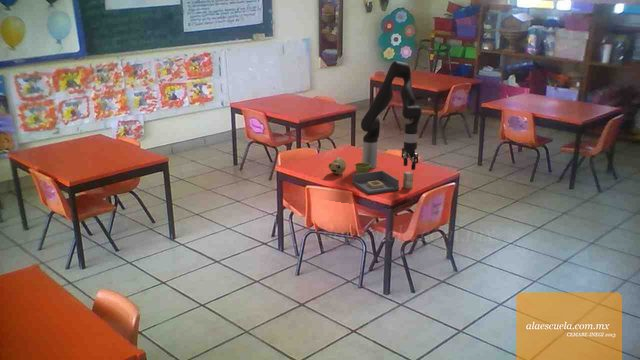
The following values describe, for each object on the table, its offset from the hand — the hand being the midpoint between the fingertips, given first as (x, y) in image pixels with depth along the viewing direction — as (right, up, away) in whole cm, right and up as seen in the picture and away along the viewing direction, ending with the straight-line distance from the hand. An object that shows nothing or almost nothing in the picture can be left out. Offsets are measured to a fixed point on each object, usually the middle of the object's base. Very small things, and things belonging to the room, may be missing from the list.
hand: (409, 167), depth 346 cm
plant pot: (-26, -6, +19) cm, 33 cm away
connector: (0, -12, +4) cm, 12 cm away
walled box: (-19, -11, +4) cm, 23 cm away
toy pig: (-41, -4, +26) cm, 49 cm away
